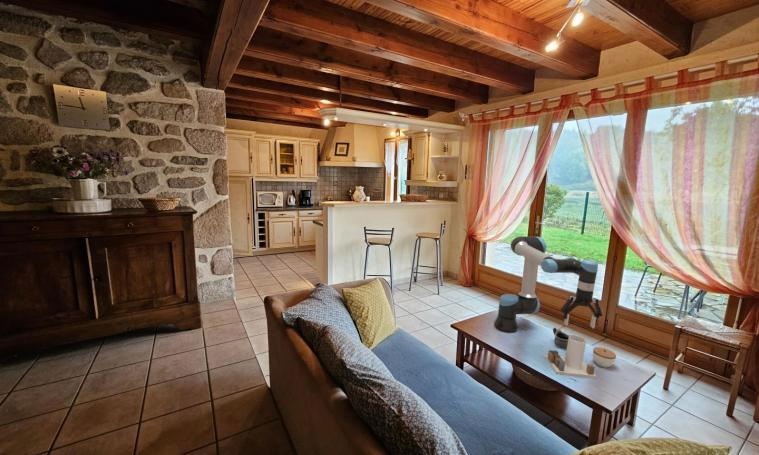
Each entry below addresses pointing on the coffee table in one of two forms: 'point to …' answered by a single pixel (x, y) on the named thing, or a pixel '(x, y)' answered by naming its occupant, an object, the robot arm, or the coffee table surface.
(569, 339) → the cup
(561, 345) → the teapot
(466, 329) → the coffee table surface
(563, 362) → the seat board
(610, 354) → the lidded jar
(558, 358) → the brown rectangular block
